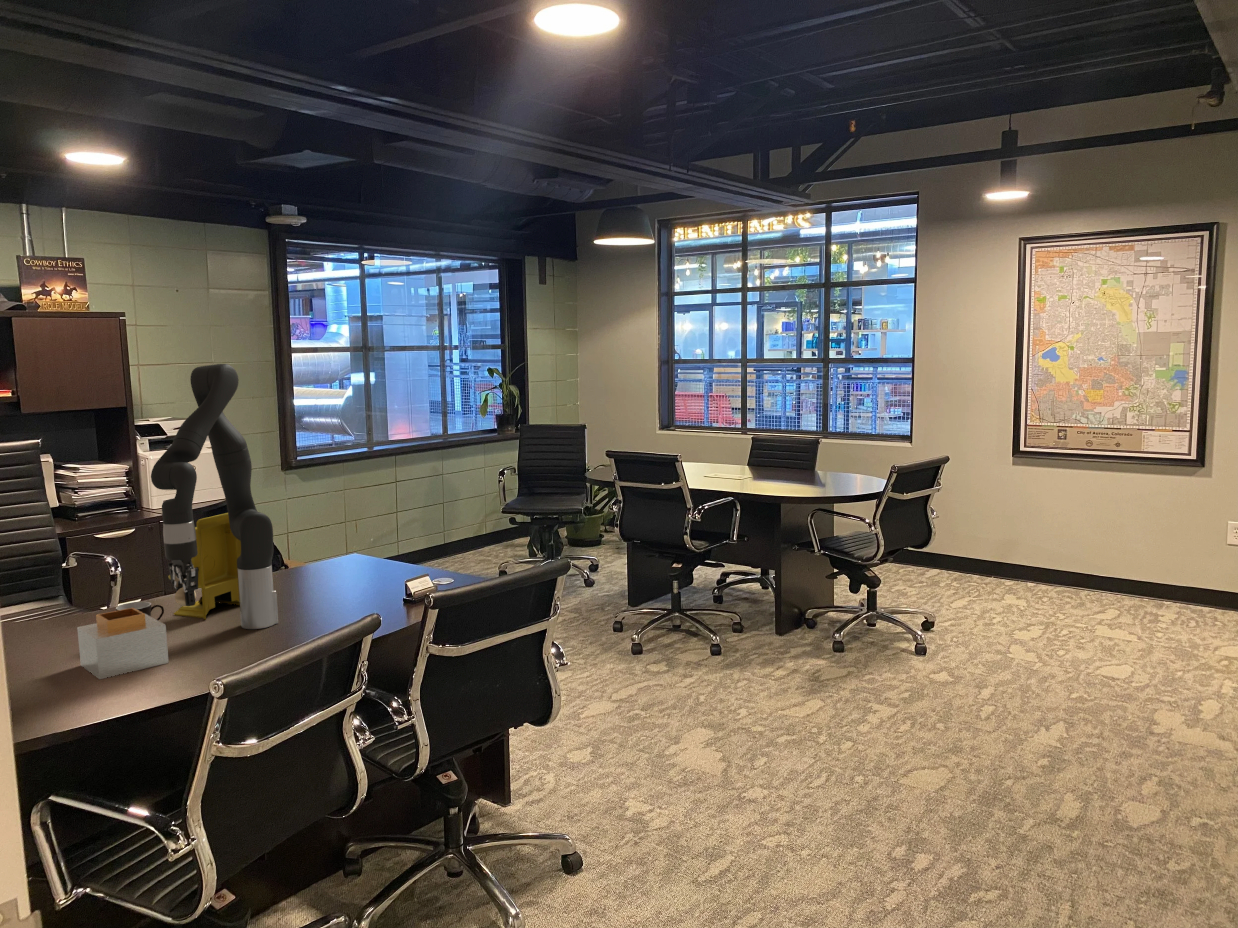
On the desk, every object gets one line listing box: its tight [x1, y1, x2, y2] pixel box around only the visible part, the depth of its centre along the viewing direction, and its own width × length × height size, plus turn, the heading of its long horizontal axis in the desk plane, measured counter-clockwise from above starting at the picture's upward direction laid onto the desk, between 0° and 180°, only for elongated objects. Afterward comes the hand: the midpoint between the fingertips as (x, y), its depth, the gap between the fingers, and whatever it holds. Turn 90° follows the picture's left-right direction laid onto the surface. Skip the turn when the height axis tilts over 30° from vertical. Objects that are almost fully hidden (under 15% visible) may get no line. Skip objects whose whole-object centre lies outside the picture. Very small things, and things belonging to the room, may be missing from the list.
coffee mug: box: [115, 601, 165, 621], centre depth 253 cm, size 12×9×10 cm
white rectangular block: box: [76, 608, 169, 680], centre depth 234 cm, size 16×15×13 cm
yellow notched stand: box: [168, 512, 241, 621], centre depth 282 cm, size 31×14×30 cm, turn 160°
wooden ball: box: [174, 587, 197, 607], centre depth 239 cm, size 5×5×5 cm
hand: (186, 603), depth 239 cm, fingers closed on wooden ball, 5 cm apart
